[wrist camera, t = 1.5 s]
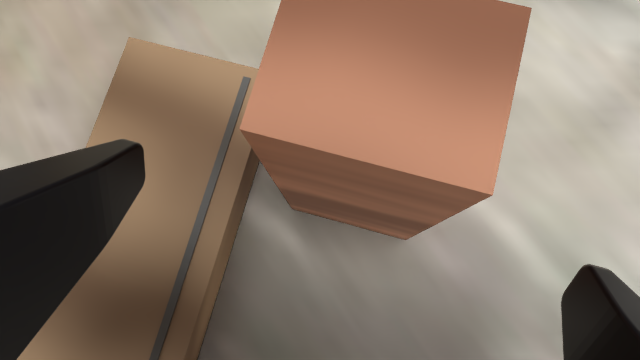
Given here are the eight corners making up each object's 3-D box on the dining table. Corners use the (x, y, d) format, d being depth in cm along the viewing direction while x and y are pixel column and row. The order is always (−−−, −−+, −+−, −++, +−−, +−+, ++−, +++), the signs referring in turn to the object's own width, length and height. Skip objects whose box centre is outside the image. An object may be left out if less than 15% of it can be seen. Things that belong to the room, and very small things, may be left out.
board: (109, 640, 17) (76, 691, 15) (-50, 581, 17) (-102, 622, 15) (280, 92, 21) (274, 72, 19) (147, 58, 21) (128, 35, 19)
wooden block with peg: (405, 239, 19) (492, 194, 9) (292, 208, 20) (239, 129, 9) (446, 69, 21) (564, -151, 10) (340, 44, 21) (344, -194, 10)
